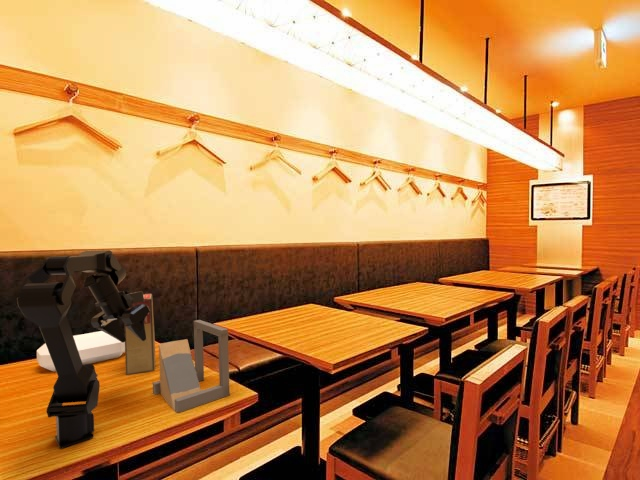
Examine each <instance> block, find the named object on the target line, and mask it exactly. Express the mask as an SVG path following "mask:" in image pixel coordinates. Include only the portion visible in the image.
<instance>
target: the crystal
mask: <svg viewBox="0 0 640 480" xmlns="http://www.w3.org/2000/svg"><path fill="white" fill-rule="evenodd" d="M73 337H74V340H75V343H76V346H77V349H78V352H79V355H80V358H81V361H82V364H94V363H95V364H96V363H98V362H99V363H100V362H103V361H108V360H112V359H117V358H120V357H121V356H122V355H123V353H124V354H125V342H123V343H122V342H121V341H119V340H117V339H116V338H114V337H112V336H110V335H109V334H107V333H105V332H103V331H101V330H99V331H93V332H89V333H84V334H83V333H82V334H75V335H73ZM36 362H37V364H38V365H39V366H40V367H42V368H44V369H46V370H48V371H51V372H56V369H55V367H54V364H53V361H52V359H51V356H50V354H49V351H48V348H47V346H46V343H45V342H44V343H43V344H42V345H41V346H40V347H39V348H38V349H37V350H36Z"/></svg>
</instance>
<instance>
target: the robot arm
mask: <svg viewBox="0 0 640 480" xmlns="http://www.w3.org/2000/svg"><path fill="white" fill-rule="evenodd" d="M78 272H83V273H95V274H91V275H88V276H86V277H84V282H83V288H85V289H86V288H88V289H89V290H90V292H91V294H92V295H93V297H94V298H95V300H96V302H95V303H94V305H95V307H96V308H98V307H100V309H101V310H102V311H101V312H99V313H97V314H96V315H93V317H91V321H90V324H91V326H92V327H93V328H94V329H95V328H96V329H97V330H99V331H103V332H105V333H107V334H109V335H110V336H112V337H114V338H116V339H117V340H119V341H121V342H122V343H123V342H125V341H126V339H125V333H124V332H123V329H122V327H121V325H120V319H121V321H122V323H123V324H124V323H125V324H127V325H125V326H126V327H127V328H128V329H129V330H130V331H131V332H132V333H134V334H135V335H136V336H137V337H138V338H139V339H141V340H142V341H145V340H146V333H145V326H144V320H145V317H146V316H147V315H148V313H149V312H150V309H149V307H148V306H147V305H145V304H139V305H135V306H133V304H134V303H138V302H144V296H143V294H144V292H143V291H142V290H141V291H136V292H130V291H129V290H124V291H123V290H120V291H119V289H118V288H117V286H118V285H119V284H120V283H121V282H122V281H123V280H124V279H125V278H126V276H127V271H126V269H125V268H124V266H122V265H121V264H120V263H119V261H118V259H117V257H116V255H115V254H113V251H112V250H110V249H107V250H85V251H82V252H81V253H79V255H63V256H62V255H60V256H59V255H56V256H49V257H45V259H44V260H43V261H42V264H41V266H40V267H39V268H37V269H36V270H34V271H33V272H32V273H30V274H29V275H28V276H26V278H25V279H24V281H23V282H22V284H21V286H20V288H19V289H18V291H17V293H16V296H15V300H16V304H17V307H18V308H19V310H20V312H21V313H22V314H23V315H22V316H24V318H25V319H26V320H28V321H30V322H31V323H33V324H35V325H36V326H38V328H39V331H40V332H41V335H42V338H43V341H44V344H45V343H46V346H47V348H48V351H49V354H50V356H51V359H52V361H53V364H54V367H55V369H56V371H55V372H56V374H57V378H56V380H55V382H54V385H53V387H52V389H53V392H52V394H51V397H50V400H49V401H48V405H47V407H46V414H47V418H52V417H53V418H55V417H56V420H55V421H56V435H55V436H54V438H55V441H56V443H57V446H58V447H59V449H64V448H68V447H70V446H72V445H75V444H78V443H82V442H84V441H87V440H90V439H93V438H94V436H95V435H94V431H95V414H94V413H93V412H92V411H94V409H96V407H97V406H98V402H99V397H100V396H99V395H100V380H98V373H96V369H95V366H94V363H91V364H82V361H81V358H80V355H79V352H78V349H77V346H76V343H75V340H74V337H73V336H74V335H73V332H72V328H71V325H70V323H69V320H68V317H67V314H68V313H69V312H68V311H69V310H70V308H71V305H72V297H73V295H74V292H75V290H76V288H77V287H76V282H75V280H74V278H73V276H74V274H75V273H78ZM57 275H58V276H59V275H60V276H61V275H65V276H66V278H65V279H64V282H61V281H57V282H47V281H48V280H50V278H51V277H52V276H57ZM132 306H133V307H132ZM131 307H132V308H131ZM129 308H130V309H129ZM128 309H129V310H128ZM82 402H83V403H82ZM68 403H69V404H68ZM70 403H73V404H70ZM74 403H75V404H74ZM76 403H77V404H76Z"/></svg>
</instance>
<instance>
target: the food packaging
mask: <svg viewBox="0 0 640 480" xmlns="http://www.w3.org/2000/svg"><path fill="white" fill-rule="evenodd" d="M143 296H144V302H138V303H134V304H133V306H135V305H139V304H145V305H147V306H148V307H149V309H150V312H149V313H148V315H147V316H146V317H145V320H144V326H145V333H146V340H145V341H142V340H141V339H139V338H138V337H137V336H136V335H135V334H134V333H132V332H131V331H130V330H129V329H128V328H127V327H126V326H125V325H127V324H125V323H124V322H123V324H124V325H123V327H124V336H125V339H126V341H125V352H124V354H125V357H124V358H125V376H128V375H129V376H130V375H136V374H137V375H138V374H143V373H149V372H155V370H156V369H155V368H156V341H155V340H156V337H155V320H154V302H153V294H152V293H143ZM133 306H132V307H133ZM132 307H131V308H132ZM129 309H130V308H129ZM129 309H128V310H129Z"/></svg>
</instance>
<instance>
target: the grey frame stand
mask: <svg viewBox="0 0 640 480" xmlns="http://www.w3.org/2000/svg"><path fill="white" fill-rule="evenodd" d="M203 331H204V332H206V333H209V334H211V335H214V336H217V339H218V344H217V345H218V375H219V376H218V377H219V379H218V380H219V383H218V385H214V386H211V387H209V388H205V389H203V390H202V389H201V391H199V392H196V393H192V394H189V395H186V396H183V397H180V398H177V399H175V411H174V412H176V413H177V414H179V413H181V412H185V411H188V410H191V409H194V408H196V407H200V406H202V405H204V404H205V405H206V404H208V403H211V402H214V401H216V400H217V401H218V400H219V399H222V398H226V397H228V396H230V366H229V364H230V361H229V359H230V357H229V329H228V328H226V327H223V326H220V325H216V324H213V323H210V322H208V321H204V320H201V319H196V320H193V344H194V345H193V346H194V347H193V348H194V349H193V351H194V367H195V370H196V374H197V378H198V381H199V383H200V382H203V381H205V371H204V370H205V369H204V364H205V363H204V335H203V334H204V333H203ZM152 393H153V394H154V395H158V394H161V390H160V380H156V381H153V382H152Z"/></svg>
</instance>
